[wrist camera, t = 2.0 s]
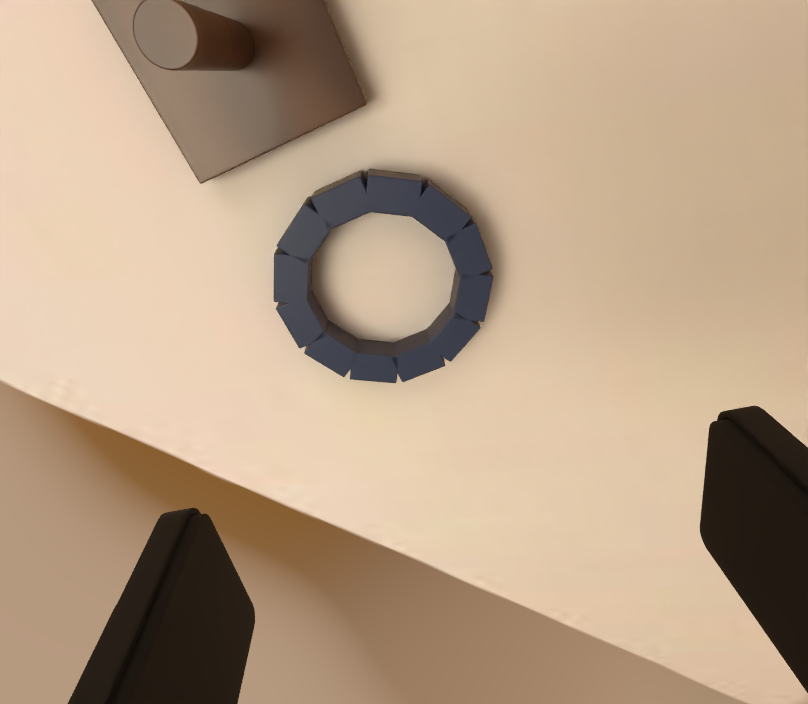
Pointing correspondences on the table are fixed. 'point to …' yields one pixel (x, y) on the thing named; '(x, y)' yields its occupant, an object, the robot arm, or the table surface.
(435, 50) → the table surface
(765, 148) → the table surface
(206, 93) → the ring stacking peg stand
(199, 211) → the table surface
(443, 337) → the navy ring
